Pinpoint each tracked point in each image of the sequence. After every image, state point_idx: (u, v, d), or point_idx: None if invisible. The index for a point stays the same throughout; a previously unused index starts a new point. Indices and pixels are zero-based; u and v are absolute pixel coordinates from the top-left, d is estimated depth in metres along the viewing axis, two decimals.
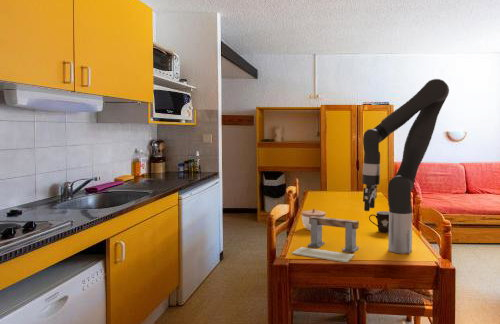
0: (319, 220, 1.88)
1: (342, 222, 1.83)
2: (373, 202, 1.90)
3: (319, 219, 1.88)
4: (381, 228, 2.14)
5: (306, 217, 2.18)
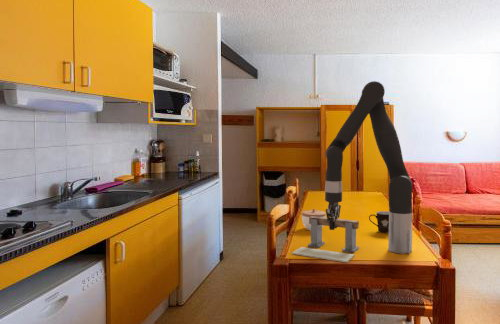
0: (319, 220, 1.88)
1: (342, 222, 1.83)
2: None
3: (319, 219, 1.88)
4: (381, 228, 2.14)
5: (306, 217, 2.18)
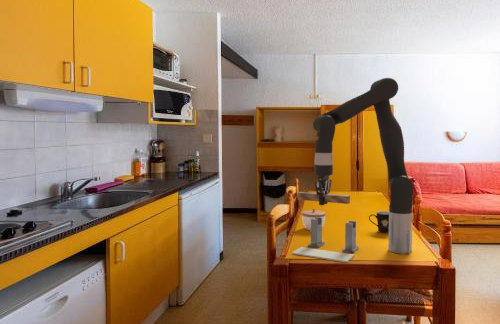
0: (308, 195, 1.76)
1: (332, 197, 1.71)
2: None
3: (308, 194, 1.76)
4: (381, 228, 2.14)
5: (306, 217, 2.18)
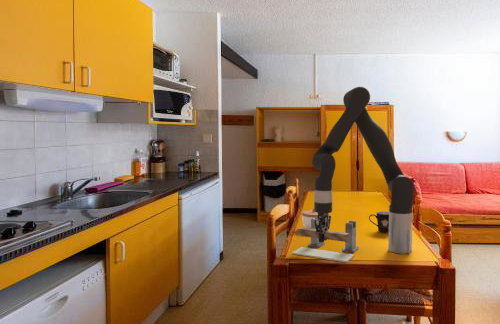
0: (308, 232, 1.77)
1: (332, 234, 1.72)
2: None
3: (308, 231, 1.77)
4: (381, 228, 2.14)
5: (306, 217, 2.18)
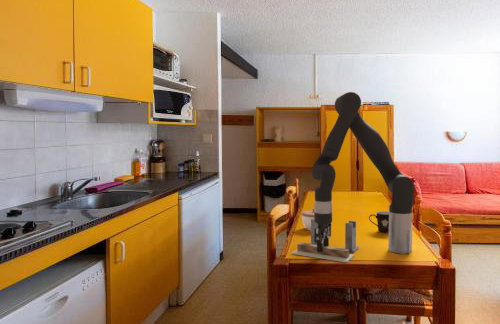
0: (308, 247, 1.78)
1: (332, 250, 1.72)
2: (327, 241, 1.79)
3: (308, 246, 1.78)
4: (381, 228, 2.14)
5: (306, 217, 2.18)
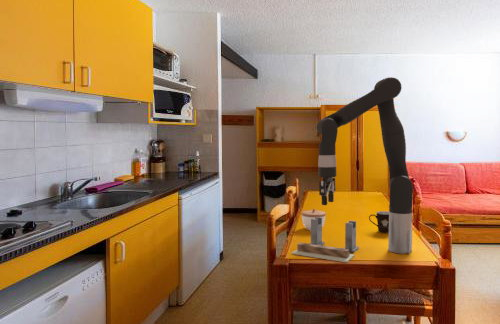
0: (308, 247, 1.78)
1: (332, 250, 1.72)
2: (332, 196, 1.81)
3: (308, 246, 1.78)
4: (381, 228, 2.14)
5: (306, 217, 2.18)
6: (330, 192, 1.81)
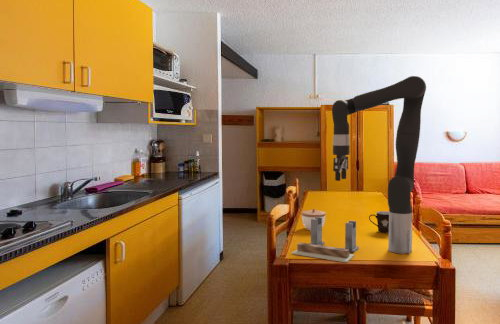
0: (308, 247, 1.78)
1: (332, 250, 1.72)
2: (345, 173, 1.94)
3: (308, 246, 1.78)
4: (381, 228, 2.14)
5: (306, 217, 2.18)
6: (343, 170, 1.94)
